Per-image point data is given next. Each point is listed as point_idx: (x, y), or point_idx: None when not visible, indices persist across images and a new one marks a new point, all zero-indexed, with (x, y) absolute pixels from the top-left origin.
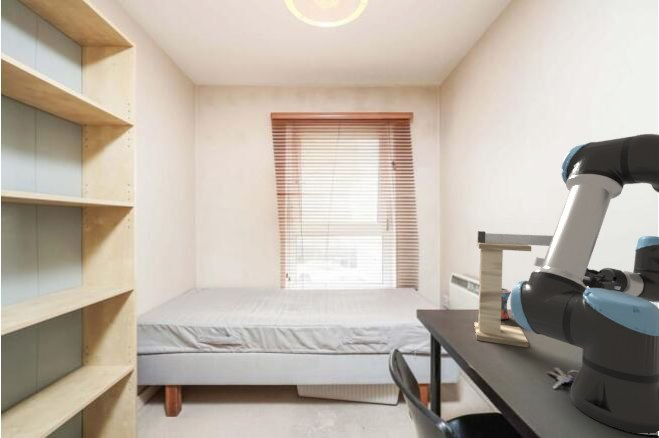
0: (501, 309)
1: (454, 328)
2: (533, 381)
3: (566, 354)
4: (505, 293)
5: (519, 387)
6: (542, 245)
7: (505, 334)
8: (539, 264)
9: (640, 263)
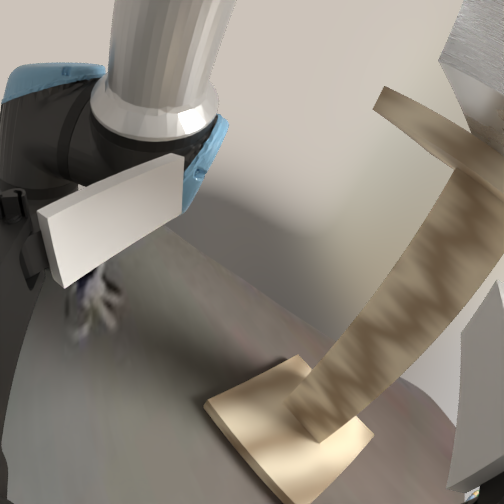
0: None
1: None
2: (131, 257)
3: (113, 429)
4: None
5: None
6: (462, 108)
7: (275, 411)
8: (470, 341)
9: None
